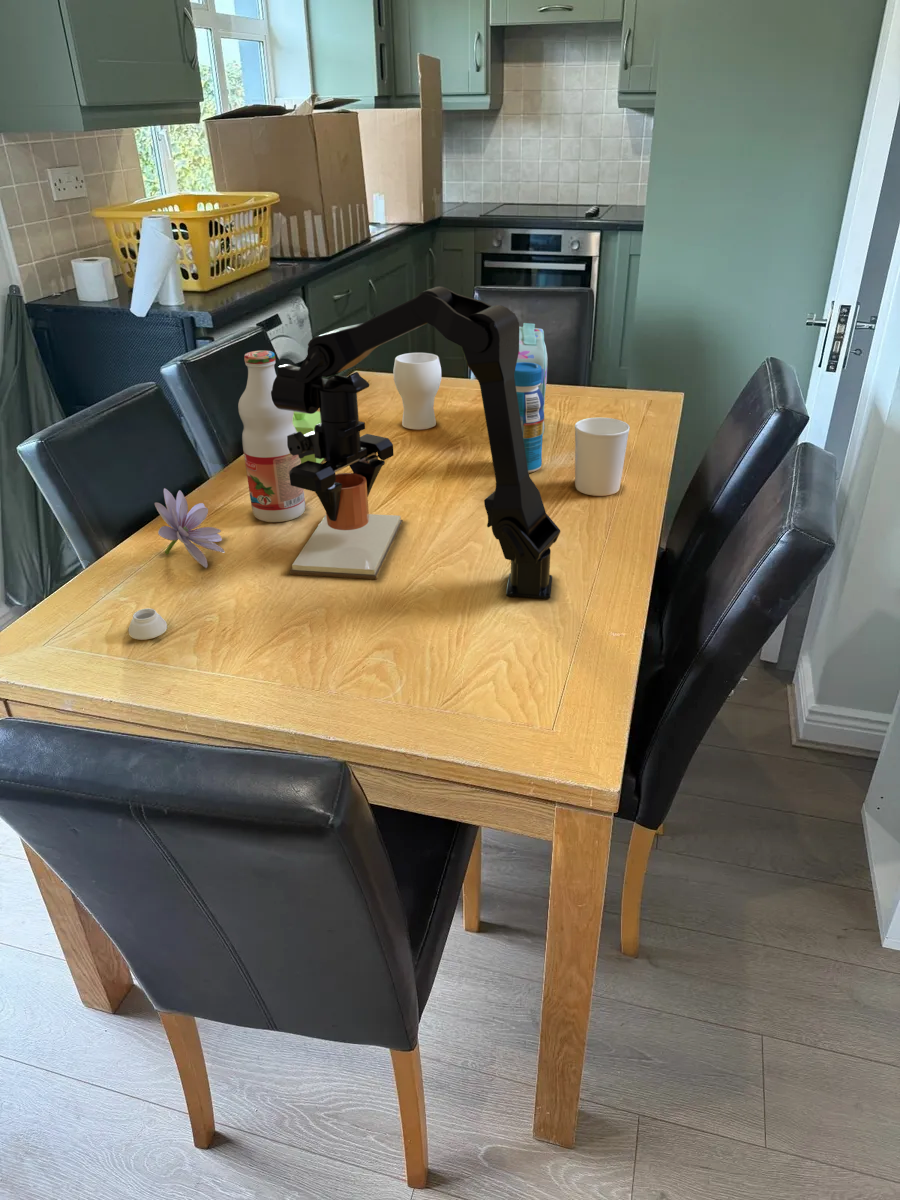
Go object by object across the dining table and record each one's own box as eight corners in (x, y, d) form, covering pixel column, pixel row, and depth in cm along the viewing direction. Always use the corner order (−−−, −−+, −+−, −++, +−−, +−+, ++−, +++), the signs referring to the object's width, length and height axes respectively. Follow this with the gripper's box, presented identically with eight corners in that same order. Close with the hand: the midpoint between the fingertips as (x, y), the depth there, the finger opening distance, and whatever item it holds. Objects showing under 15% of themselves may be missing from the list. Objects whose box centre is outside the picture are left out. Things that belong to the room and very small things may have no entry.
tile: (376, 579, 128) (375, 570, 127) (290, 574, 130) (289, 565, 129) (403, 522, 146) (402, 514, 145) (326, 519, 148) (326, 511, 147)
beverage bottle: (496, 473, 165) (497, 371, 155) (504, 458, 172) (505, 359, 162) (538, 476, 163) (543, 373, 153) (545, 461, 170) (549, 361, 160)
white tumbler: (588, 474, 164) (592, 413, 158) (633, 485, 159) (639, 424, 153) (560, 489, 157) (564, 427, 151) (606, 502, 152) (612, 438, 146)
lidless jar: (156, 618, 119) (123, 632, 116) (152, 600, 117) (118, 614, 114) (174, 632, 116) (140, 646, 113) (170, 613, 114) (135, 627, 111)
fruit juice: (308, 520, 147) (291, 358, 133) (254, 526, 145) (230, 363, 131) (303, 499, 155) (286, 344, 141) (251, 505, 153) (228, 349, 139)
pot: (363, 531, 132) (360, 489, 129) (322, 529, 133) (317, 488, 130) (373, 513, 138) (370, 473, 134) (333, 512, 139) (329, 472, 135)
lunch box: (497, 408, 201) (498, 315, 190) (540, 408, 201) (543, 315, 190) (498, 446, 178) (499, 343, 167) (546, 446, 178) (551, 343, 167)
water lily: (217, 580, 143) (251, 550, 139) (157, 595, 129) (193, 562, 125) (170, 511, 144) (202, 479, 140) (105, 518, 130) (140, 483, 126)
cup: (388, 421, 194) (385, 355, 186) (431, 414, 198) (429, 349, 190) (406, 434, 186) (403, 366, 178) (450, 427, 189) (449, 360, 182)
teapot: (287, 480, 163) (281, 427, 158) (255, 461, 173) (248, 411, 167) (354, 462, 171) (350, 410, 166) (320, 445, 181) (315, 396, 175)
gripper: (338, 394, 137) (346, 483, 145) (256, 425, 124) (269, 522, 132) (393, 404, 132) (397, 496, 140) (313, 438, 119) (323, 538, 126)
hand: (347, 512), depth 135 cm, fingers closed on pot, 7 cm apart
